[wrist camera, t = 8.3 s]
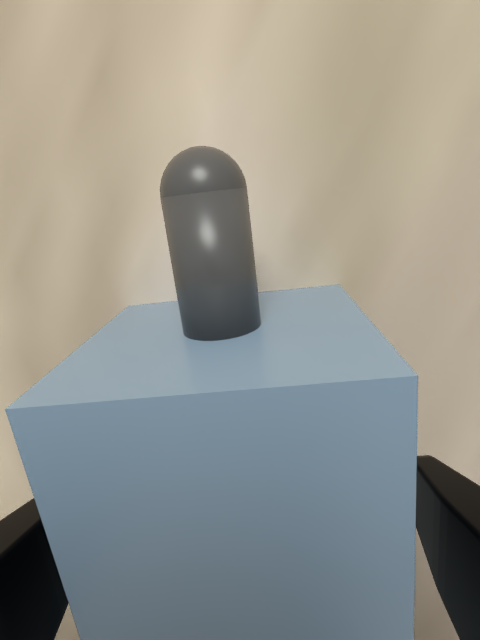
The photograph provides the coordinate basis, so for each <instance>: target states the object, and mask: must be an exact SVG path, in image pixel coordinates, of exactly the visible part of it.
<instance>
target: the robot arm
mask: <svg viewBox="0 0 480 640" xmlns="http://www.w3.org/2000/svg"><path fill="white" fill-rule="evenodd" d="M416 528H417V531H418V534H419V537H420V540H421V543H422V546H423V549H424V552H425V555H426V558H427V561H428V564H429V567H430V569H431V572H432V575H433V578H434V581H435V584H436V587H437V589H438V592H439V594H440V596H441V599H442V601H443V603H444V606H445V608H446V610H447V612H448V614H449V617H450V619H451V621H452V623H453V625H454V628H455V630H456V632H457V634H458V636H459V639H460V640H480V486H479V485H478V484H476V483H474V482H473V481H471V480H469V479H468V478H466V477H465V476H463V475H461V474H460V473H458V472H457V471H455V470H453V469H452V468H450V467H449V466H447V465H445V464H444V463H442V462H441V461H439V460H437V459H436V458H434V457H432V456H429V455H425V456H417V470H416ZM67 606H68V599H67V596H66V593H65V590H64V587H63V584H62V581H61V578H60V575H59V572H58V569H57V566H56V563H55V560H54V557H53V554H52V551H51V548H50V544H49V541H48V538H47V535H46V532H45V529H44V526H43V523H42V520H41V517H40V514H39V511H38V508H37V505H36V502H35V499H34V498H33V499H32V500H30V501H29V502H27V503H26V504H24V505H23V506H21V507H20V508H18V509H17V510H15V511H14V512H12V513H11V514H9V515H8V516H6V517H5V518H3V519H2V520H1V521H0V640H54V638H55V636H56V633H57V631H58V628H59V626H60V623H61V621H62V618H63V616H64V613H65V611H66V608H67Z"/></svg>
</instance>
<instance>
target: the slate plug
mask: <svg viewBox="0 0 480 640" xmlns="http://www.w3.org/2000/svg"><path fill="white" fill-rule="evenodd" d="M160 196H161V204H162V210H163V215H164V221H165V227H166V233H167V239H168V245H169V251H170V257H171V263H172V269H173V275H174V281H175V287H176V293H177V299H178V301H171V302H162V303H152V304H142V305H132V306H128V307H127V308H125V309H124V310H123V311H122V312H121V313H120V314H118V315H117V316H116V317H115V318H114V319H112V320H111V321H110V322H109V323H108V324H106V325H105V326H104V327H103V328H102V329H100V330H99V331H98V332H97V333H96V334H94V335H93V336H92V337H91V338H90V339H88V340H87V341H86V342H85V343H84V344H83V345H81V346H80V347H79V348H78V349H77V350H75V351H74V352H73V353H72V354H71V355H69V356H68V357H67V358H66V359H65V360H63V361H62V362H61V363H60V364H59V365H57V366H56V367H55V368H54V369H53V370H51V371H50V372H49V373H48V374H47V375H45V376H44V377H43V378H42V379H41V380H40V381H38V382H37V383H36V384H35V385H34V386H32V387H31V388H30V389H29V390H28V391H26V392H25V393H24V394H23V395H22V396H20V397H19V398H18V399H17V400H16V401H14V402H13V403H12V404H11V405H10V406H8V407H7V408H6V409H5V410H6V413H7V416H8V419H9V422H10V425H11V428H12V431H13V435H14V438H15V441H16V444H17V447H18V450H19V453H20V456H21V459H22V462H23V465H24V468H25V471H26V474H27V477H28V480H29V483H30V486H31V489H32V493H33V496H34V499H35V502H36V505H37V508H38V511H39V514H40V517H41V520H42V523H43V526H44V529H45V532H46V535H47V538H48V541H49V544H50V548H51V551H52V554H53V557H54V560H55V563H56V566H57V569H58V572H59V575H60V578H61V581H62V584H63V587H64V590H65V593H66V596H67V599H68V603H69V606H70V609H71V612H72V615H73V618H74V621H75V624H76V627H77V630H78V633H79V636H80V639H81V640H414V593H415V532H416V470H417V409H418V375H417V374H416V373H415V372H414V370H413V369H412V368H411V367H410V366H409V365H408V363H407V362H406V361H405V360H404V359H403V358H402V356H401V355H400V354H399V353H398V352H397V351H396V350H395V348H394V347H393V346H392V345H391V344H390V343H389V341H388V340H387V339H386V338H385V337H384V336H383V334H382V333H381V332H380V331H379V330H378V329H377V327H376V326H375V325H374V324H373V323H372V322H371V321H370V319H369V318H368V317H367V316H366V315H365V314H364V312H363V311H362V310H361V309H360V308H359V307H358V305H357V304H356V303H355V302H354V301H353V300H352V298H351V297H350V296H349V295H348V294H347V293H346V292H345V290H344V289H343V288H342V287H341V286H340V285H339V284H338V285H329V286H319V287H309V288H299V289H289V290H279V291H270V292H260V293H258V289H257V279H256V270H255V260H254V251H253V242H252V232H251V223H250V213H249V204H248V195H247V186H246V181H245V178H244V175H243V173H242V170H241V169H240V167H239V166H238V164H237V163H236V162H235V161H234V160H233V159H232V158H231V157H230V156H229V155H227V154H226V153H225V152H223V151H221V150H219V149H216V148H213V147H208V146H197V147H191V148H188V149H186V150H184V151H182V152H180V153H179V154H178V155H176V156H175V157H174V158H173V159H172V160H171V161H170V162H169V164H168V165H167V167H166V169H165V171H164V173H163V176H162V179H161V185H160Z"/></svg>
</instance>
